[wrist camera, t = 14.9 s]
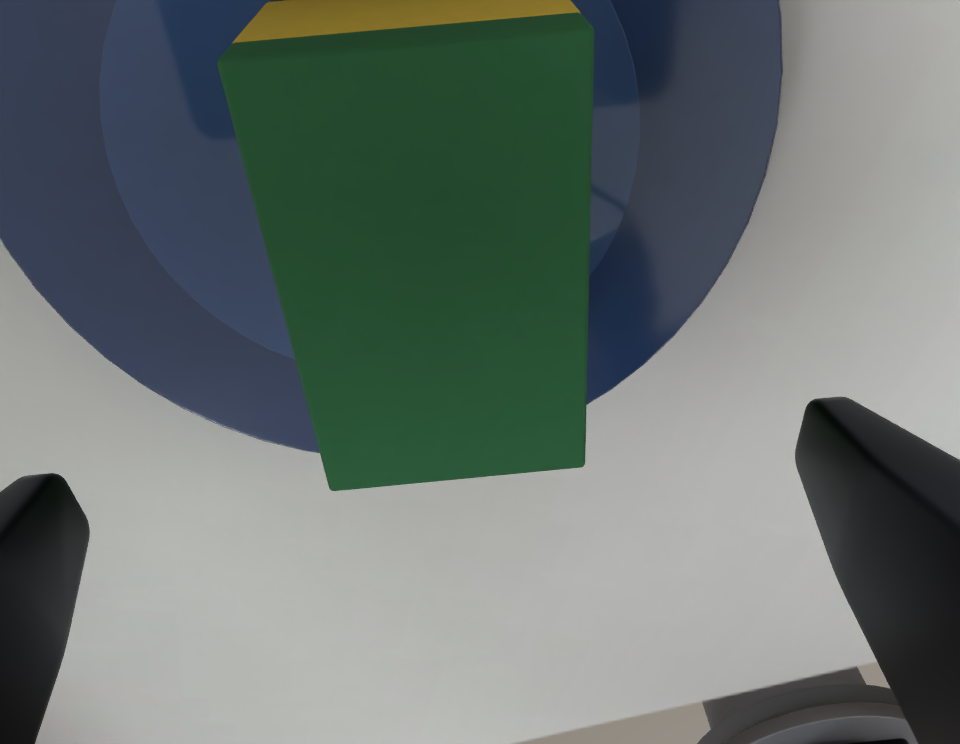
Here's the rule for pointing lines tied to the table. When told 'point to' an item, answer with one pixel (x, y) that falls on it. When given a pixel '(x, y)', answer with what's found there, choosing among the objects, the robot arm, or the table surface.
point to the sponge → (426, 226)
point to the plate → (232, 215)
